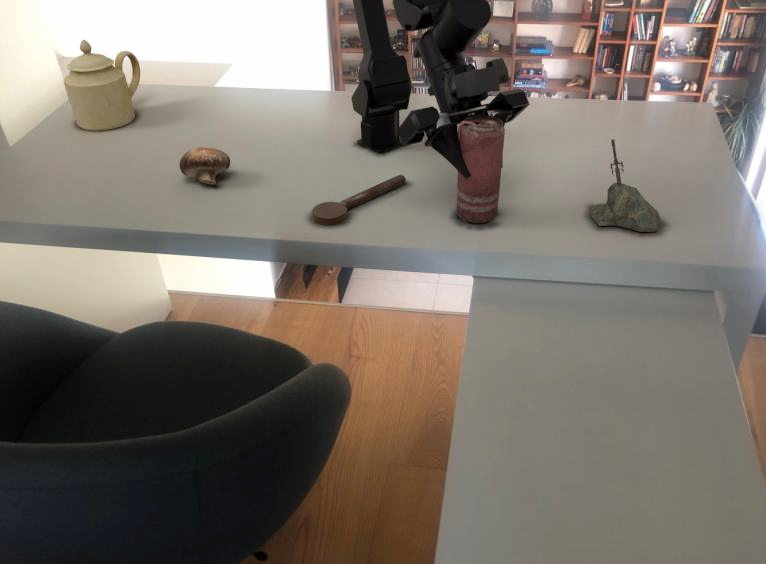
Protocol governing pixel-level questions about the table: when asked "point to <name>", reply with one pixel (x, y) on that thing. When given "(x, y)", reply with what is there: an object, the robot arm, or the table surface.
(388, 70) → the robot arm
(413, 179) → the table surface
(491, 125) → the can
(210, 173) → the mushroom
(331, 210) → the wooden spoon
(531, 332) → the table surface
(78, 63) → the beige ceramic pot
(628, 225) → the sword in stone
